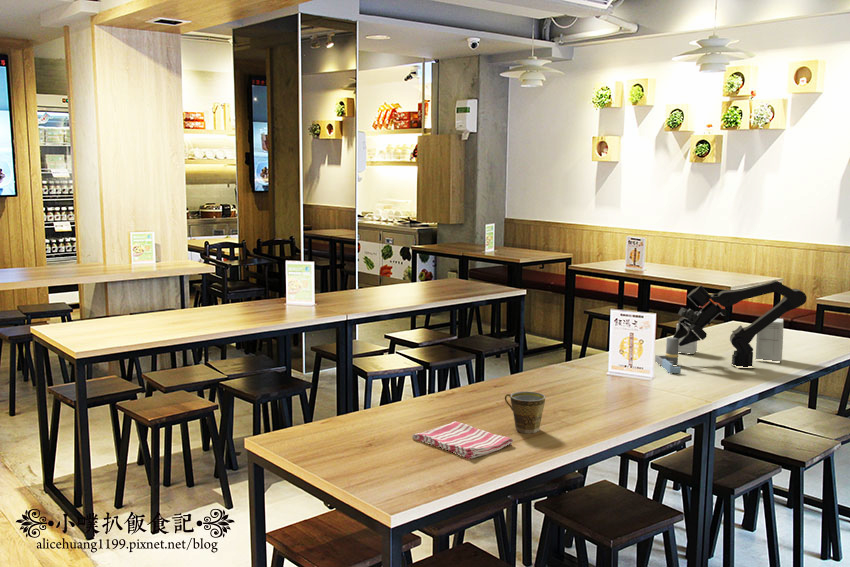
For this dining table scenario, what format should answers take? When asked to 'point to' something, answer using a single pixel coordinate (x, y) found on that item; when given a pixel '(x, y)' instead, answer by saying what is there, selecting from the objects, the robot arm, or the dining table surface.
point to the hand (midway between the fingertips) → (675, 342)
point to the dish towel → (463, 439)
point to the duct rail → (667, 364)
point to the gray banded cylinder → (672, 350)
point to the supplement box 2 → (770, 341)
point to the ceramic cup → (527, 410)
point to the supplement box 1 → (687, 346)
